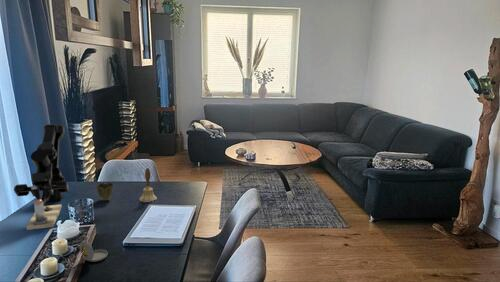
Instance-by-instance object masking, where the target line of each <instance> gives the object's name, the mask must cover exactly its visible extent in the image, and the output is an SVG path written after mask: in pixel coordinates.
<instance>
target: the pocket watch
mask: <svg viewBox="0 0 500 282" xmlns="http://www.w3.org/2000/svg"><path fill="white" fill-rule="evenodd" d="M82 238H83V239H84V240H82V241H81V242H80V243H79V247H78V248H79V253H80V252H81V253H82V252H83V251H84V252H83V253H82V254H84V255H83V257H82V258H83V259H84V260H85V261H86V262H87V261H88V262H90V263H91V262H94V263H95V262H100V261H102V260H104V259H106V258H107V256H108V254H109V253H108V250H106V249H95V250H94V248H93V246H92V244H91V243H90V242H89V241H88V238H89V237H88V236H87V235H86V234H83V235H82ZM81 253H80V254H81Z"/></svg>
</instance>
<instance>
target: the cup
mask: <svg viewBox="0 0 500 282" xmlns="http://www.w3.org/2000/svg"><path fill="white" fill-rule="evenodd" d="M96 189H97V195H98V196H99V198H101V200H102V201H103V202H107V201H109V200H110V199H111V197H112V195H113V192H114V183H113V182H111V181H110V182H109V181H108V182H107V183H105V182H104V181H103V182H100V183H99V184H97V185H96Z"/></svg>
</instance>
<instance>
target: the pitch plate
mask: <svg viewBox="0 0 500 282" xmlns="http://www.w3.org/2000/svg"><path fill="white" fill-rule="evenodd" d="M62 206H63V205H62V204H51V205H44V211H45V217H47V218H48V220H47V222H46V224H38V225H34V221H35V219H36V217H35V212H34V213H33V215H32V217H31V218H30V220H29V221H28V223H27V225H26V231H29V230H30V231H31V230H38V229H45V228H53V227H54V226H55V223H56V221H57V219H58V217H59V215H60V212H61V210H62Z"/></svg>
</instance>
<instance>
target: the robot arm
mask: <svg viewBox="0 0 500 282" xmlns="http://www.w3.org/2000/svg"><path fill="white" fill-rule="evenodd" d="M65 133H66V129H65V126H63V125H62V124H55V123H53V124H51V123H48V124H45V125H44V126H43V138H42V143H41V144H38V146H37V148H36V150H35V151H33V152H32V153H31V154H30V159H31V160H32V163H33V164H34V167H35V168H36V172H35V173H31V182H32V185H31V186H28V185H27V183H23V184H21V183H20V184H16V185H14V186H13V192H14V193H15V194H16V196H17V197H27V196H28V195H30V193H31V195H32V197H35V198H36V200H37V199H41V200H43V202H44V205H45V204H46V203H47V202H60V201H62V200H63V199H64V198H65V197H66V195H65V194H62V193H68V192H69V190H70V188H69V187H70V186H69V184H68V183H69V182H67V181H66V180H65V177H64V176H63V174H62V172H61V170H60V169H59V167H60V166H59V164H60V143H61V141H62V140H63V139H64V136H65V135H64V134H65ZM41 191H42V193H41Z"/></svg>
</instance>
